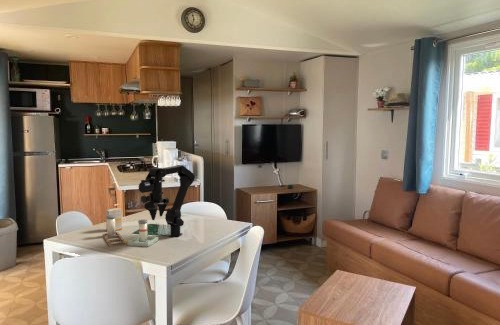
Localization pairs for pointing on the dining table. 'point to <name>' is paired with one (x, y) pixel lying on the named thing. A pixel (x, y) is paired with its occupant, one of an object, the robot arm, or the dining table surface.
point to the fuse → (111, 225)
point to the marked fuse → (143, 231)
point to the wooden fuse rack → (115, 239)
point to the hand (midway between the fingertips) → (157, 218)
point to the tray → (136, 242)
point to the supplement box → (118, 217)
